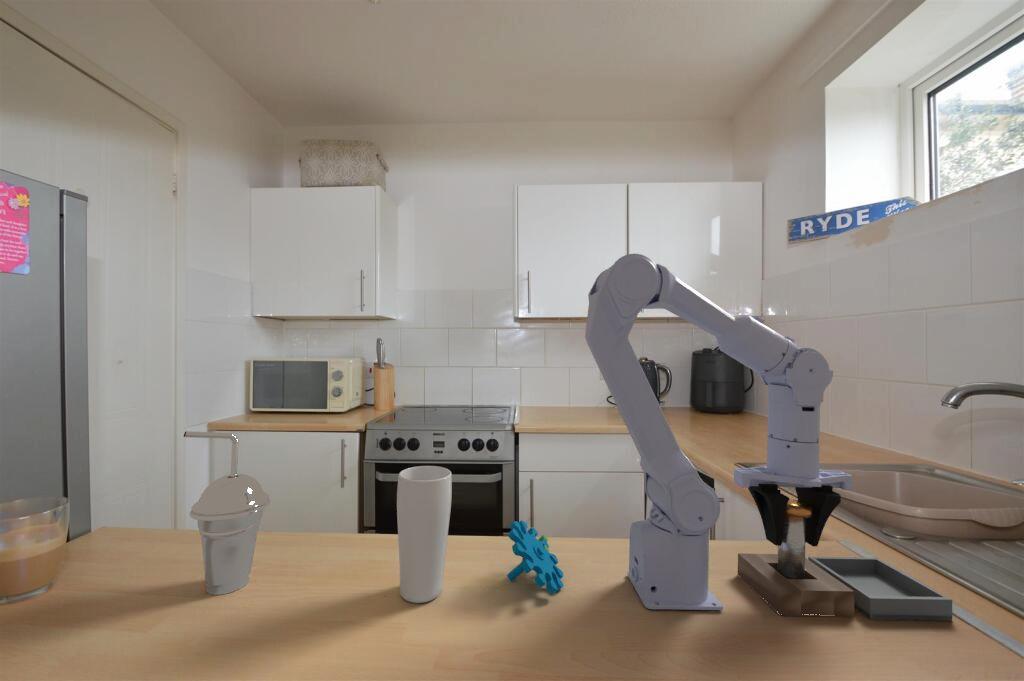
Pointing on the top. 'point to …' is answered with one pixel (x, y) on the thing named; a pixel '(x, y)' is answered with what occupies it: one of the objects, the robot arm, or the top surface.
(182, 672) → the top surface
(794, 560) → the pin
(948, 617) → the tray
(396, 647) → the top surface
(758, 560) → the holder block
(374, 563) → the top surface
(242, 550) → the cup with straw
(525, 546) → the gear
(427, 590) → the drinking glass
